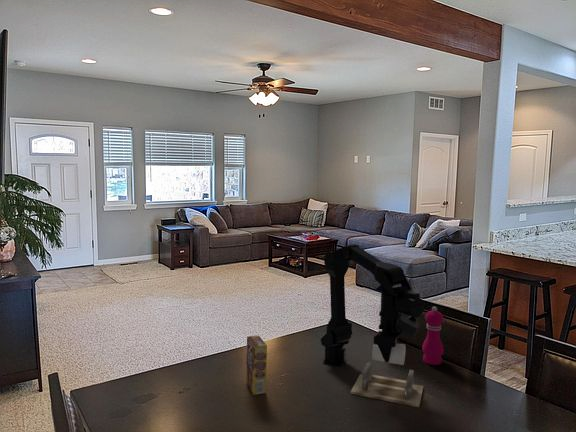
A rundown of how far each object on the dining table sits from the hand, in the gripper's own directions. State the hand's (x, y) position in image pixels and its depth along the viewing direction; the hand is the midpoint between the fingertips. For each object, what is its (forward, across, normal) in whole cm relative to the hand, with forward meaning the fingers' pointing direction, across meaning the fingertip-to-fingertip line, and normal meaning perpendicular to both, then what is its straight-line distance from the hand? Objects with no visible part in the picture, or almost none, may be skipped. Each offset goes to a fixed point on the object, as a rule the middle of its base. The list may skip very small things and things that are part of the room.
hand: (388, 357), depth 137 cm
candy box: (+11, -14, +38) cm, 42 cm away
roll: (+1, 0, 0) cm, 1 cm away
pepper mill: (+11, +28, -11) cm, 32 cm away
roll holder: (+11, 0, 0) cm, 11 cm away
